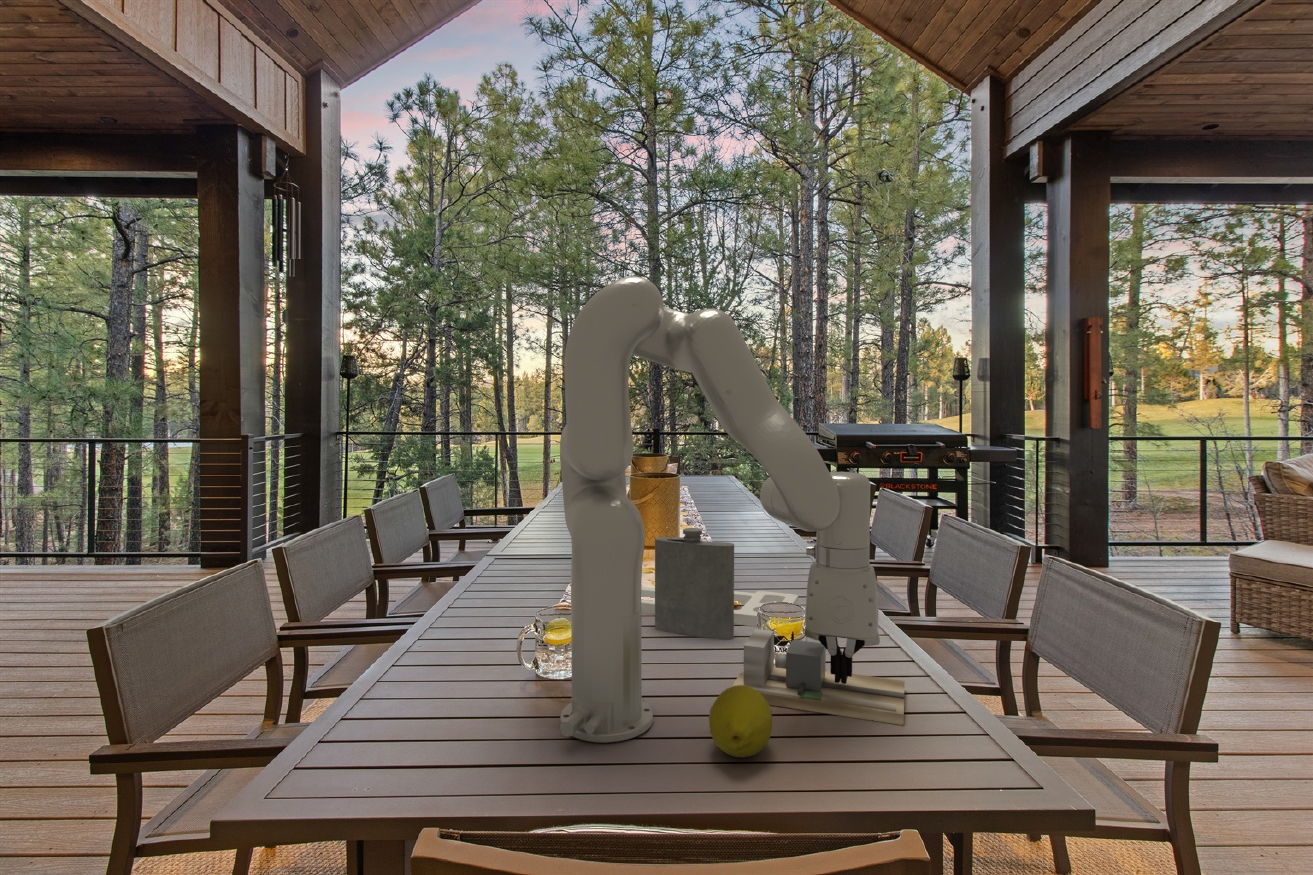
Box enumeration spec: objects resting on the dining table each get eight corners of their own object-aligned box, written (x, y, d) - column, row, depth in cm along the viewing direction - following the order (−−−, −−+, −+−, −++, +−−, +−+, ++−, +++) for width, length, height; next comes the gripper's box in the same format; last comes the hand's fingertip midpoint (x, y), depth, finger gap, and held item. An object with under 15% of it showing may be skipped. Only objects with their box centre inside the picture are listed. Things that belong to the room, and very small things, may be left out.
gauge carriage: (817, 700, 95) (817, 665, 95) (768, 692, 98) (768, 658, 98) (825, 675, 104) (825, 643, 104) (779, 669, 106) (779, 638, 106)
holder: (575, 606, 148) (575, 594, 148) (611, 586, 164) (611, 575, 164) (781, 632, 131) (782, 618, 131) (798, 607, 148) (798, 594, 148)
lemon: (722, 728, 91) (722, 669, 90) (780, 739, 88) (781, 679, 87) (695, 768, 81) (695, 702, 81) (759, 782, 78) (759, 714, 77)
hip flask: (736, 635, 128) (736, 529, 127) (729, 642, 124) (729, 533, 123) (659, 624, 134) (658, 523, 134) (650, 630, 131) (650, 527, 130)
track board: (903, 725, 92) (904, 670, 91) (730, 698, 100) (730, 648, 100) (904, 690, 103) (905, 641, 103) (748, 669, 111) (748, 624, 111)
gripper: (786, 558, 99) (786, 682, 99) (896, 566, 93) (894, 697, 94) (795, 548, 106) (794, 664, 106) (897, 555, 100) (895, 677, 101)
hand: (841, 679), depth 100 cm, fingers closed
